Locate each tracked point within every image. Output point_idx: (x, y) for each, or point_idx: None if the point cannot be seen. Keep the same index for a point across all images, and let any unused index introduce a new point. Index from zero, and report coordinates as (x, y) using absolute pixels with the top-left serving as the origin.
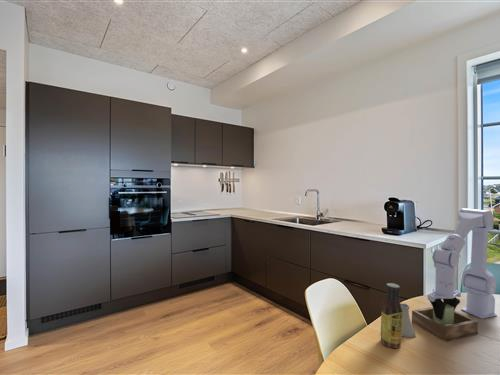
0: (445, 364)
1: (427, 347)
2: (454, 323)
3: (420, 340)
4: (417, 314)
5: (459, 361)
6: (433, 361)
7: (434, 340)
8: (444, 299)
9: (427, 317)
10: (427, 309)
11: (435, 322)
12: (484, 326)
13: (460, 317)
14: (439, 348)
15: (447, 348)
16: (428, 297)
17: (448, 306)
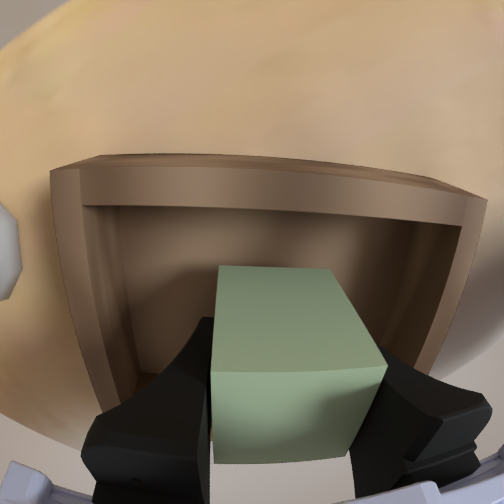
0: (31, 418)
1: (20, 360)
2: (370, 302)
3: (17, 322)
4: (60, 234)
5: (82, 433)
6: (5, 397)
7: (79, 349)
8: (400, 419)
9: (91, 320)
10: (249, 205)
11: (97, 381)
12: (473, 334)
13: (407, 350)
14: (61, 384)
15: (94, 397)
16: (7, 493)
17: (311, 446)
